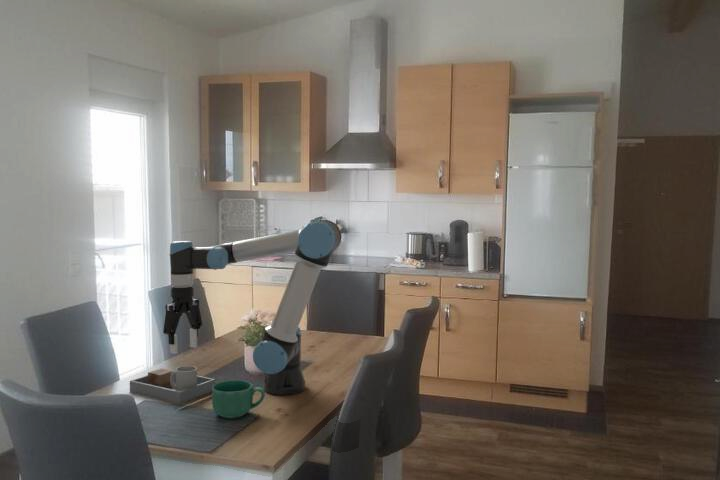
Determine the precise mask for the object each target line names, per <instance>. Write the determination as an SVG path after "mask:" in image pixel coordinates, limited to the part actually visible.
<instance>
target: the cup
mask: <svg viewBox="0 0 720 480" xmlns="http://www.w3.org/2000/svg"><path fill="white" fill-rule="evenodd" d="M175 375H176V384H175V379H174V378H175ZM197 376H198V368H197V366H194V365H183V366H179V367H175V370H173V372H172V373H171V375H170V384H171V387H172V388H174V389H176V391H182V390H185V389H188V388H190V387H193V386H196V385H197Z"/></svg>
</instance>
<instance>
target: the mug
mask: <svg viewBox="0 0 720 480" xmlns="http://www.w3.org/2000/svg"><path fill="white" fill-rule="evenodd" d="M256 392H260V394H261V396H260V398H259V399H258V400H257V401H255V402H254V403H253V399H254V397H253V396H254V395H255V393H256ZM265 393H266V392H265V391H264V389H263V387H260V386H257V387H254V388H253V384H252V383H251V382H249V381H246V380H243V379H242V380H239V379H231V380H230V379H229V380H223V381H219V382H215V385H213V387H212V392H211V401H212V408H213V411H214V412H215V414H217V415H218V416H221V417H222V418H223V419H237V418H240V417H243V416H244V415H246V414H247V413H249V411H250V410H252V409H255V408H257V407H258V406H259V405H261V403H263V401H264V399H265V396H266V394H265Z"/></svg>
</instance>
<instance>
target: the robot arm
mask: <svg viewBox="0 0 720 480" xmlns="http://www.w3.org/2000/svg"><path fill="white" fill-rule="evenodd" d="M341 232H342V231H341V229H340V227H339V226H338V225H337V224H336V223H335V222H333V221H331V220H327V219H322V220H314V221H313V220H312V221H310V222H309V223H307V224H306V225H304V226H303V225H302V227H301V228H300V229H298V230H292V231H286V232H281V233H276V234H271V235H265V236H259V237H254V238H247V239H243V240H238V241H233V242H232V241H231V242H224V243H220V244H217V245H212V246H201V247H200V246H194V245H193V242H192V241H191V240H176V241H175V240H174V241H172V242H171V243H170V245H169V255H168V256H169V263H170V285H171V288H170V298H172V303H169V304H165V316H164V324H163V330H162V331H163V334H164V335H168V336H167V337H168V344H169V353H170V354H173V355H177V354H178V334H176V332H177V329H178V326H179V322H180V319H181V316H182V315H183V314H185V315H186V318H187V320H188V323H189V325H190V327H191V328H189V347H190V348H194V349H196V348H198V337H199V329H201V327H202V326H203V319H202V315H201V310H200V299H199V298H197V299H196V298H193V297H194V295H195V294H194V293H195V292H194V289H195V288H194V286H193V285H194V270H198V269H199V270H214V271H215V270H224V269H225V268H226V266H227V265H230V264H237V263H241V262H247V261H253V260H258V259H260V260H261V259H264V258H270V257H275V256H282V255H283V256H284V255H287V254H292V253H293V254H294V256H295V259H296V262H295V264H294V267H293V269H292V271H291V274H290V277H289V280H288V282H287V284H286V288H285V289H284V292H283V295H282V297H281V300H280V302H279V305H278V308H277V311H276V313H275V316H274V318H273V320H272V323H271V324H269V325H268V326H266V327H265V328H264V330H263V334H262V337H261V339H260V340H259V343H257V344H256V345H255V347H254V349H253V353H252V361H253V363H254V365H255V367H256V368H257V369H258V370H259V371H260V372H262V373H264V374H265V378H264V381H263V387H262V388H263V390H264V392H265V393H268V394H271V395H278V396H279V395H280V396H284V395H294V394H295V395H296V394H299V393H302V392H303V391H305V390H306V380H305V378H304V373H303V370H302V367H301V366H302V363H301V362H302V361H301V358H302V356H301V355H302V354H301V353H302V349H301V348H302V345H301V344H302V331H301V328H300V327H299V325H300V322H301V321H302V318H303V315H304V314H305V310H306V308H307V307H308V303H309V301H310V298H311V296H312V293H313V290H314V288H315V285H316V283H317V280H318V279H319V274H320V273H321V270H322V269H325V268H327V267H328V265H329V262H330V260H331V258H332V255H333V253H334V251H336V250H337V248H339V246H340V244H341V242H342V233H341Z"/></svg>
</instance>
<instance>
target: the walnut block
mask: <svg viewBox="0 0 720 480" xmlns="http://www.w3.org/2000/svg"><path fill="white" fill-rule="evenodd" d="M166 369H167V368H166ZM166 369H165V368H158V369H155V370H152V371H148V372H147V375H148V384H150V385H154V386H159V387H163V388H167V389H169V388H172V387H171V384H170V375H171V373H172V372H173V371H174V370H173V371H171V370H172V369H168V370H166Z"/></svg>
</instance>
